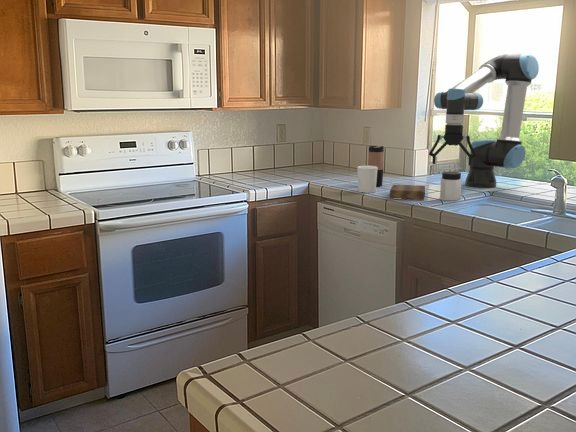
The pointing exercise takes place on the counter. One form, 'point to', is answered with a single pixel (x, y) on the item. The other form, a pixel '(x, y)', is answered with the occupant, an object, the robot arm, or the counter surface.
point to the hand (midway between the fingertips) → (451, 172)
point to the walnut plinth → (407, 192)
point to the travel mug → (377, 162)
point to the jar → (450, 186)
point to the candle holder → (367, 178)
